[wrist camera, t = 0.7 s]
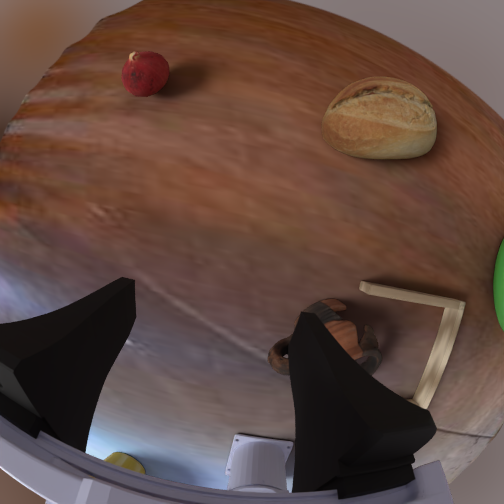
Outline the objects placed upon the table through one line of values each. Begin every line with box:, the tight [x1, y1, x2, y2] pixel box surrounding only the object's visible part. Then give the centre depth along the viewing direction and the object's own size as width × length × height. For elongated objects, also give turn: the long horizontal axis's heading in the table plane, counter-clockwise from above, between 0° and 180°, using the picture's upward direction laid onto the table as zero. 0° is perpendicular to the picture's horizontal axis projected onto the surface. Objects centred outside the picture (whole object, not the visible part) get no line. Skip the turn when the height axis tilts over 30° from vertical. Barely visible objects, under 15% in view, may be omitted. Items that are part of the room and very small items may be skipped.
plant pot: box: [91, 452, 145, 478], centre depth 27 cm, size 10×10×10 cm
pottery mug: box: [268, 299, 382, 376], centre depth 27 cm, size 12×10×8 cm
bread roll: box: [321, 77, 437, 159], centre depth 24 cm, size 10×15×8 cm, turn 102°
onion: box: [122, 51, 170, 97], centre depth 25 cm, size 6×6×8 cm
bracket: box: [359, 281, 465, 409], centre depth 28 cm, size 22×14×3 cm, turn 169°
